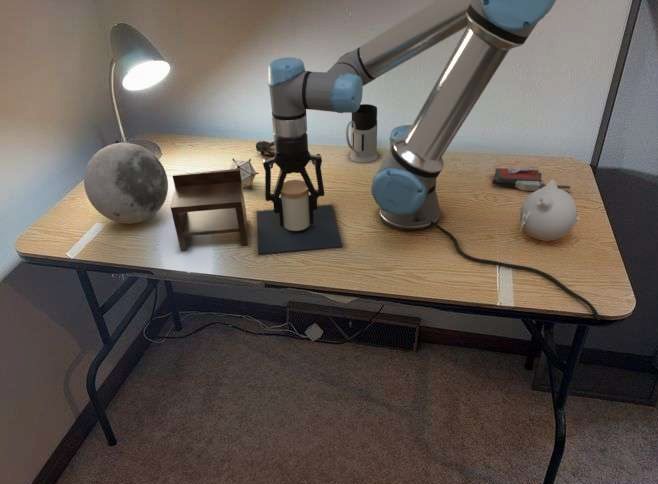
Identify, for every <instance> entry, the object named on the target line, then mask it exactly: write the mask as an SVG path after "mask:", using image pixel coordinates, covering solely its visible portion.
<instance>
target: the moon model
mask: <svg viewBox="0 0 658 484" xmlns="http://www.w3.org/2000/svg"><path fill="white" fill-rule="evenodd" d="M83 186H84V191H85V194H86V197H87V198H88V200H89V203H90V204H91V205H92V207H93V208H94V209H95V210H96V211H97V212H98V213H99V214H100V215H102V216H103V217H105V218H106V219H109V220H110V221H112V222H115V223H121V224H137V223H141V222H145V221H146V220H148V219H150V218H152V217H153V216H155V215H156V214H157V213H158V212H159V211H160V210H161V208H162V207H163V206H164V204H165V202H166V199H167V196H168V191H169V180H168V175H167V172H166V170H165V168H164V166H163V164H162V162H161V161H160V160H159V158H158V157H157V156H156V155H155V154H154V153H152V152H151V151H150V150H148V149H147V148H145V147H143V146H141V145H138V144H136V143H135V144H134V143H131V142H117V143H112V144H108V145H107V146H104V147H102V148H100V149H99V150H98V151H97V152H96V153H94V155H92V156H91V158H90V159H89V161H88V163H87V165H86V167H85V170H84V175H83Z"/></svg>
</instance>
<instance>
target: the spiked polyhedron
mask: <svg viewBox="0 0 658 484" xmlns="http://www.w3.org/2000/svg"><path fill="white" fill-rule="evenodd" d="M232 161H233V162H232V164H231V167H230V168H229V170H230V169H240V172H241V179H242V186H243V188H245V187H246V188H249V189H250V190H252V189H253V187H252V184H253V182H254V180H255V177H256V176H257V175H259V174H260V173H259V172H258V171H257V172H256V170H255V168H254V167H253V165H252V163H251V161H252V159H251V158H249V160H235V158H232Z"/></svg>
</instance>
